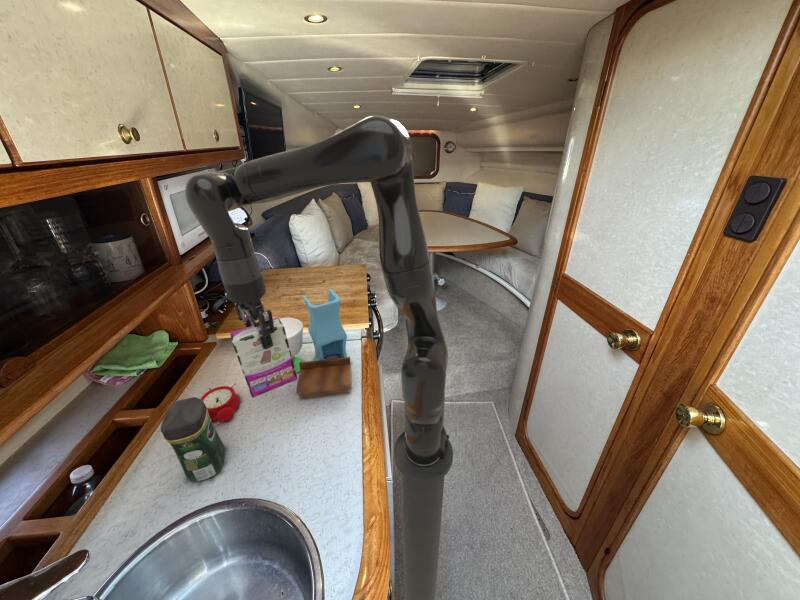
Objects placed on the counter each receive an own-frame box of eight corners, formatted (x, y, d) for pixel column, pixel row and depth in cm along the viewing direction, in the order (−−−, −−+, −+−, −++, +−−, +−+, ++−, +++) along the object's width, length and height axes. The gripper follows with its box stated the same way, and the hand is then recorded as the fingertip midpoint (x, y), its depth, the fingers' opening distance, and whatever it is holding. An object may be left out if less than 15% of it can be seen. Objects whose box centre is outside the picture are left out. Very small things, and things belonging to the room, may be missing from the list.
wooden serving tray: (351, 372, 105) (349, 357, 102) (351, 394, 96) (349, 378, 93) (302, 377, 103) (299, 362, 100) (298, 400, 94) (294, 384, 91)
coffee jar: (193, 452, 79) (166, 398, 70) (227, 443, 81) (205, 389, 73) (183, 488, 71) (151, 432, 62) (222, 477, 73) (196, 421, 65)
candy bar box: (292, 369, 83) (279, 316, 75) (298, 379, 79) (285, 325, 72) (247, 386, 78) (228, 331, 70) (251, 398, 74) (231, 342, 66)
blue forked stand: (339, 349, 116) (331, 288, 104) (350, 364, 108) (342, 300, 97) (313, 358, 112) (302, 295, 100) (322, 374, 104) (310, 308, 92)
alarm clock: (240, 379, 97) (228, 407, 83) (244, 397, 99) (233, 427, 85) (203, 386, 95) (184, 415, 81) (208, 404, 96) (190, 436, 82)
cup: (274, 387, 99) (263, 346, 92) (264, 363, 109) (253, 325, 102) (316, 370, 106) (308, 331, 98) (303, 350, 116) (295, 313, 108)
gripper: (276, 278, 63) (292, 346, 71) (243, 262, 72) (261, 325, 80) (239, 291, 58) (261, 363, 66) (209, 273, 67) (231, 338, 75)
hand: (261, 342), depth 73 cm, fingers closed on candy bar box, 5 cm apart
